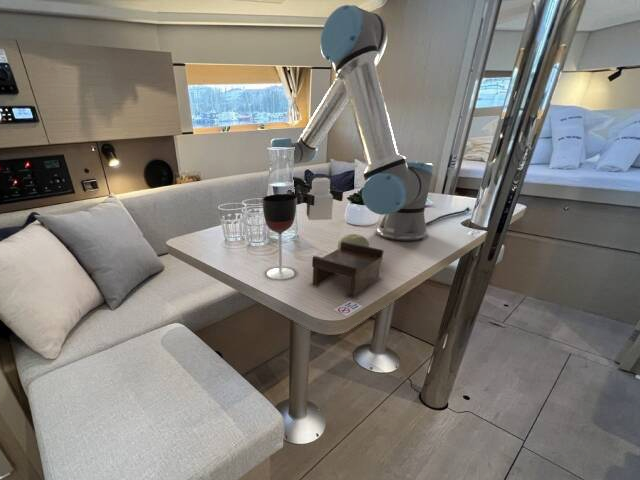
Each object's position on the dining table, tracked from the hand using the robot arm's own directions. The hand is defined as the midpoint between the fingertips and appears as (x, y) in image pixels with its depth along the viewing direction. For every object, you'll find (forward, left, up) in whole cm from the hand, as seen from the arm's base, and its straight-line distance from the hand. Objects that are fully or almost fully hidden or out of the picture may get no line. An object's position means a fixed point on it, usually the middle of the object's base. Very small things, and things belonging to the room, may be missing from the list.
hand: (327, 198), depth 94 cm
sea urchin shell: (-2, +9, -15) cm, 18 cm away
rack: (+18, +18, -15) cm, 30 cm away
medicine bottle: (-2, -4, -7) cm, 8 cm away
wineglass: (+24, +2, -15) cm, 29 cm away
